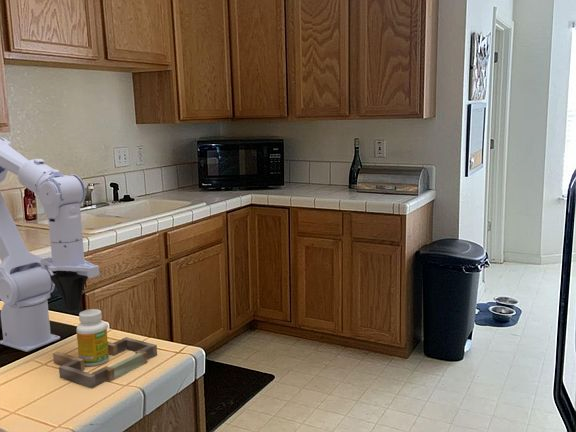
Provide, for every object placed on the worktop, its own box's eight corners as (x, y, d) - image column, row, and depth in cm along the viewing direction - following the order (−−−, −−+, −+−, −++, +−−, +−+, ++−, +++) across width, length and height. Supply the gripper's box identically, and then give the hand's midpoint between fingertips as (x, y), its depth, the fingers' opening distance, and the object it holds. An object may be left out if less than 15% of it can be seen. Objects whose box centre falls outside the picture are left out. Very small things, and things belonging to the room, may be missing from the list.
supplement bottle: (99, 367, 103) (95, 318, 102) (73, 366, 104) (69, 316, 103) (114, 356, 108) (110, 308, 107) (89, 354, 109) (85, 307, 108)
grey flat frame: (37, 370, 103) (36, 360, 102) (105, 340, 116) (104, 331, 116) (94, 389, 95) (93, 378, 94) (160, 355, 108) (159, 345, 108)
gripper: (23, 240, 105) (30, 309, 108) (74, 247, 98) (80, 321, 100) (55, 233, 111) (62, 298, 114) (105, 240, 104) (111, 309, 106)
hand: (72, 308), depth 107 cm, fingers closed
